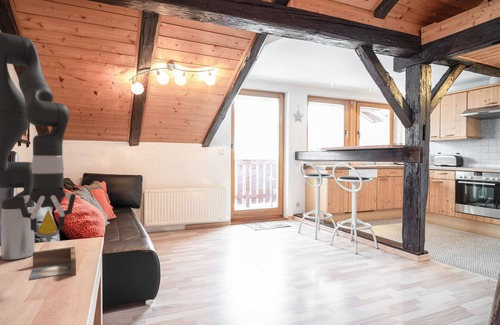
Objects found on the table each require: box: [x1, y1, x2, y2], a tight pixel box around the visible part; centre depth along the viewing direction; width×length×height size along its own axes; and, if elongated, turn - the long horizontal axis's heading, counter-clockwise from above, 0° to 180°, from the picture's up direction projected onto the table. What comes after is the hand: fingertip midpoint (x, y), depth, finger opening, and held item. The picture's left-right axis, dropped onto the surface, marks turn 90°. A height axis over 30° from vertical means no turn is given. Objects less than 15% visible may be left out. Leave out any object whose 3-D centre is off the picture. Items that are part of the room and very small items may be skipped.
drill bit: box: [35, 209, 60, 243], centre depth 86 cm, size 5×5×10 cm
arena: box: [28, 246, 77, 281], centre depth 95 cm, size 15×12×5 cm
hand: (48, 230), depth 86 cm, fingers closed on drill bit, 5 cm apart
